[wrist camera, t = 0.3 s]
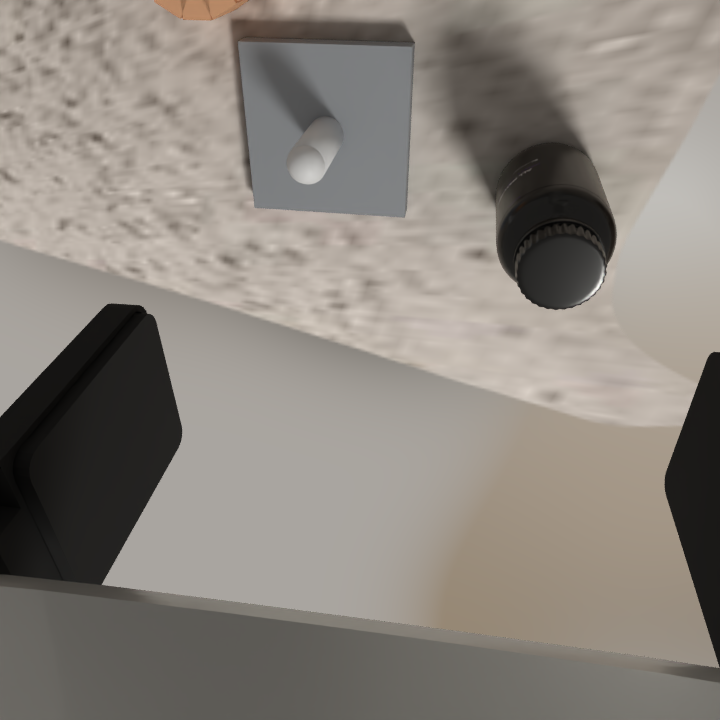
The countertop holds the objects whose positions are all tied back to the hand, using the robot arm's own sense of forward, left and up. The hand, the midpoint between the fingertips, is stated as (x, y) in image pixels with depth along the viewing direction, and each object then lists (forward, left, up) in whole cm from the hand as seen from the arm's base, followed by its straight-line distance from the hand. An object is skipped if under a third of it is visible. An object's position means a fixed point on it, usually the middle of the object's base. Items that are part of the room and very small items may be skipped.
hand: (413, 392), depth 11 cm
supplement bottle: (+9, +7, -35) cm, 37 cm away
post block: (+6, -8, -35) cm, 37 cm away
